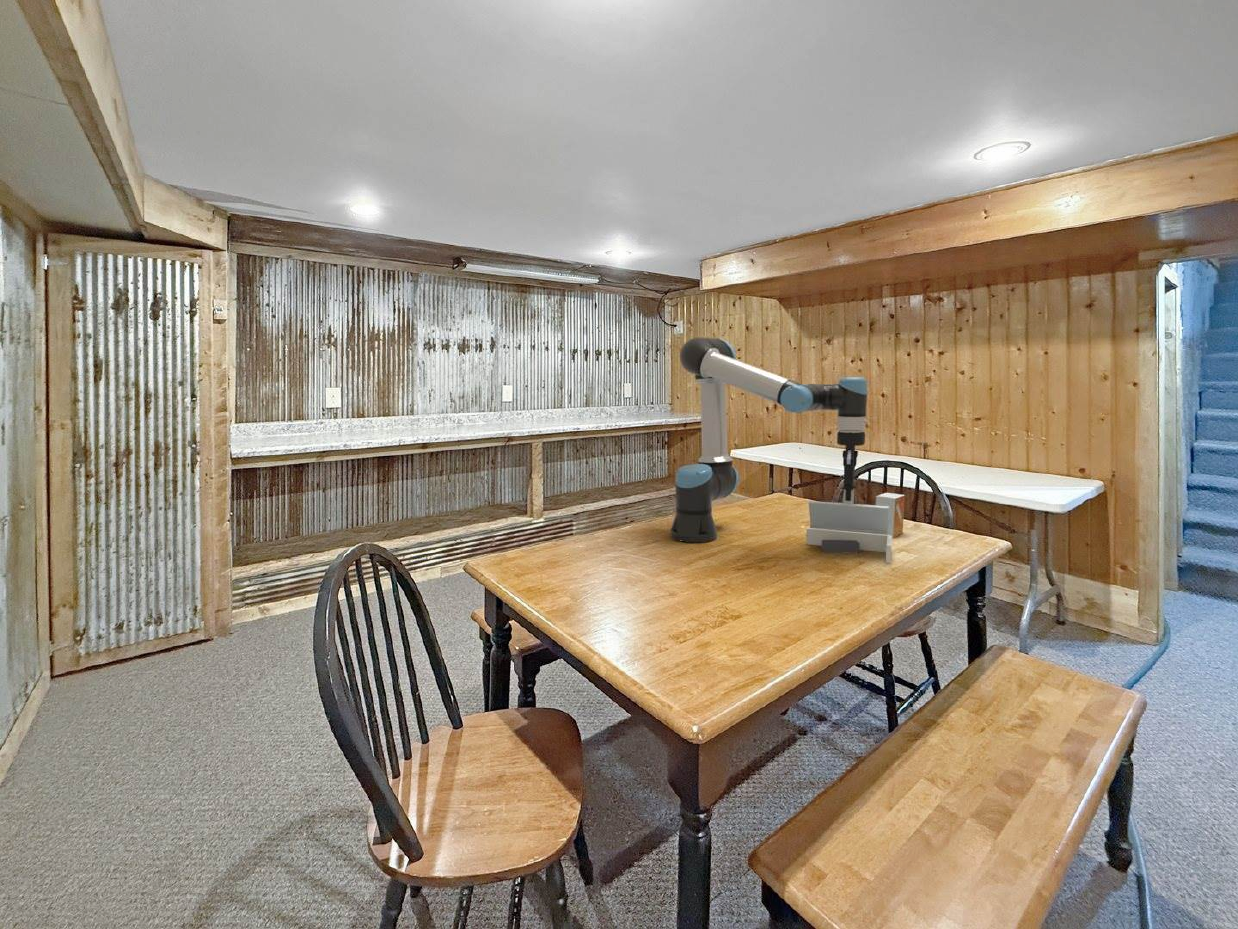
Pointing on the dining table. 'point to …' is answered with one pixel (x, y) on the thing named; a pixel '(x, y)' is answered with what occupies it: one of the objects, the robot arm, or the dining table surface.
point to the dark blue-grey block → (840, 546)
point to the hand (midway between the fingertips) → (847, 510)
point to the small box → (893, 511)
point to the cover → (849, 517)
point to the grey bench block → (852, 539)
